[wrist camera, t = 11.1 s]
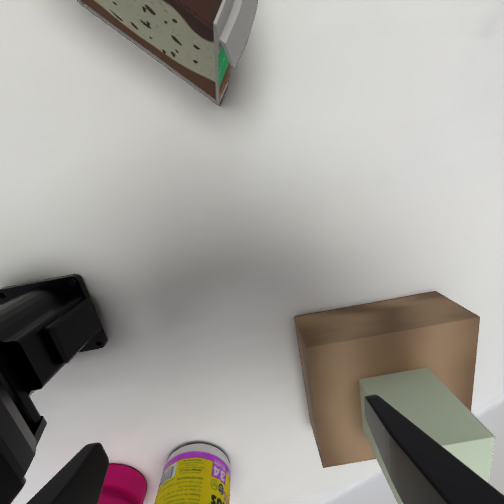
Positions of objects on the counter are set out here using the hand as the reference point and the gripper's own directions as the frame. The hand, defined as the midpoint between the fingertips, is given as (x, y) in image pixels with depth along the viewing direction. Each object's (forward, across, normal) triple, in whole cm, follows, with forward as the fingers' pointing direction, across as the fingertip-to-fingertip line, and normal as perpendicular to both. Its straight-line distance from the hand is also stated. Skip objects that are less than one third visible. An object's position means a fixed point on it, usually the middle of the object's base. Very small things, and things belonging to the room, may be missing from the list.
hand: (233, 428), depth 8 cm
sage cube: (+8, -10, +10) cm, 16 cm away
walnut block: (+12, -10, +10) cm, 19 cm away
